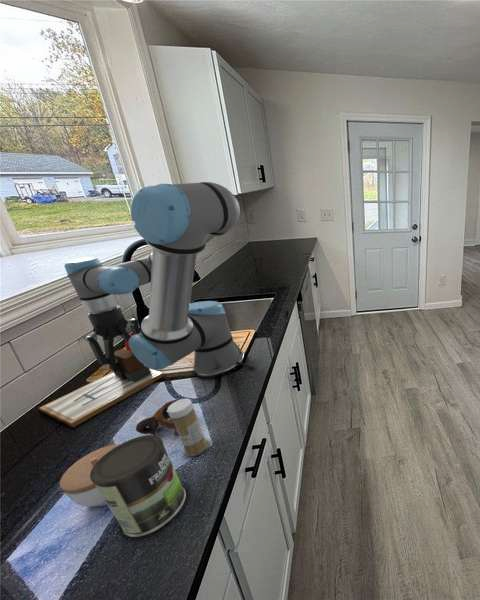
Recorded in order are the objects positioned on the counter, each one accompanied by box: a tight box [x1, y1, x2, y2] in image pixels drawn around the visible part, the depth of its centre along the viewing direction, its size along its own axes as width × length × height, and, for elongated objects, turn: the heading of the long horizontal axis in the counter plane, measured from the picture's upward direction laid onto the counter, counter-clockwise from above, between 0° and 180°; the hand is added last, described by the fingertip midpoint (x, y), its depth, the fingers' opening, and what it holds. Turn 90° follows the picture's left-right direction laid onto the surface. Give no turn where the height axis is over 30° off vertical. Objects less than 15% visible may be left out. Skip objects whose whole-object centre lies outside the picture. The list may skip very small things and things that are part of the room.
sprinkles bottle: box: [167, 398, 208, 457], centre depth 72 cm, size 5×5×13 cm
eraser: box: [114, 348, 151, 382], centre depth 102 cm, size 11×5×8 cm, turn 67°
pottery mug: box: [135, 398, 196, 437], centre depth 80 cm, size 12×10×8 cm
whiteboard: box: [38, 368, 165, 428], centre depth 97 cm, size 18×24×2 cm
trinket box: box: [59, 443, 121, 508], centre depth 64 cm, size 11×11×9 cm
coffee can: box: [90, 434, 187, 538], centre depth 59 cm, size 10×10×14 cm
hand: (132, 373), depth 103 cm, fingers closed on eraser, 5 cm apart
